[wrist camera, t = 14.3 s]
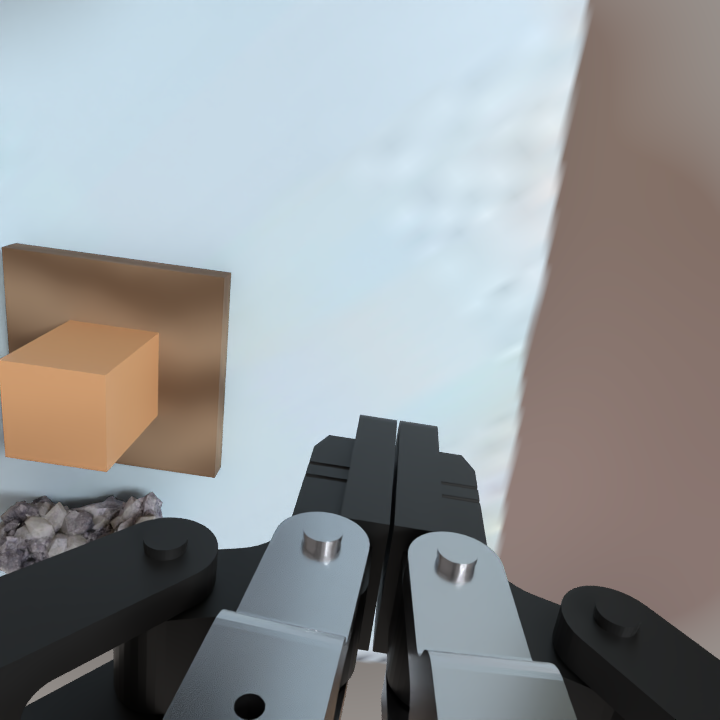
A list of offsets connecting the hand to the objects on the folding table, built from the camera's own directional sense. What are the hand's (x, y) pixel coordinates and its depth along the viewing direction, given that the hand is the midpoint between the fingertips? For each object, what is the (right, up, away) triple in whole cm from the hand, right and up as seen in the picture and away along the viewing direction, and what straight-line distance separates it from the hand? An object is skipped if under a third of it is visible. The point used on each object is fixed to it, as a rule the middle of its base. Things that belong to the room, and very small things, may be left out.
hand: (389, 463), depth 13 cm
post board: (-16, +2, +31) cm, 35 cm away
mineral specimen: (-20, -10, +36) cm, 42 cm away
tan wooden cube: (-17, +1, +30) cm, 34 cm away
